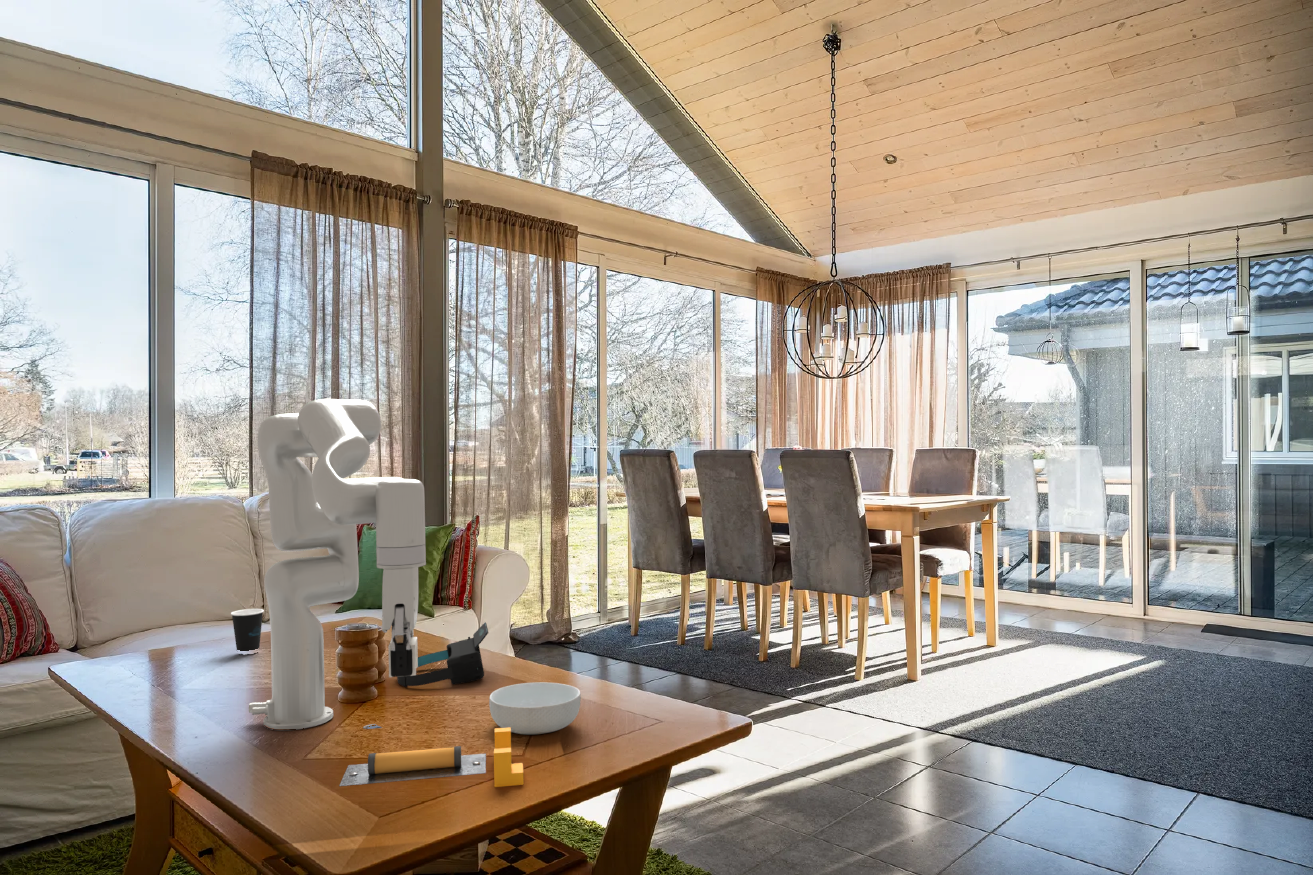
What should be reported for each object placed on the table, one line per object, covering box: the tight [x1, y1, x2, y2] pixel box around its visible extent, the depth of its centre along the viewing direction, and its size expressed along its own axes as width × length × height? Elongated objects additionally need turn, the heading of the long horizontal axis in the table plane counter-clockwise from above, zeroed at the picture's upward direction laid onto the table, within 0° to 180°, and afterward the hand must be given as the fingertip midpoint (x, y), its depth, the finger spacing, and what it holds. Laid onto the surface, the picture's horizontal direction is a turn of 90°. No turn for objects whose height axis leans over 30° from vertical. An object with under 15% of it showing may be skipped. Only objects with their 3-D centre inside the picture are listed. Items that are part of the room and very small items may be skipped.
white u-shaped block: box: [387, 636, 419, 678], centre depth 140 cm, size 4×6×5 cm
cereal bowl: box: [488, 681, 582, 735], centre depth 162 cm, size 17×17×7 cm
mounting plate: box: [339, 753, 487, 787], centre depth 141 cm, size 22×9×1 cm, turn 101°
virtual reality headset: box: [396, 621, 489, 688], centre depth 203 cm, size 19×22×10 cm
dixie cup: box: [230, 608, 265, 651], centre depth 232 cm, size 8×8×11 cm
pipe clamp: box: [493, 727, 524, 788], centre depth 139 cm, size 12×4×6 cm, turn 10°
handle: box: [367, 745, 462, 774], centre depth 141 cm, size 14×3×3 cm, turn 101°
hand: (403, 669), depth 140 cm, fingers closed on white u-shaped block, 5 cm apart
